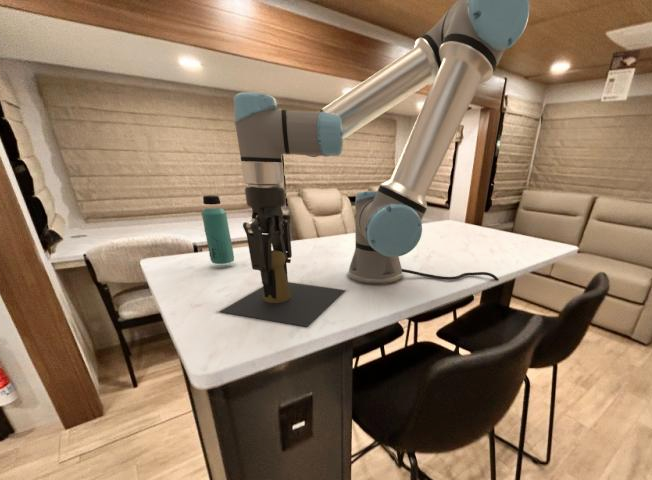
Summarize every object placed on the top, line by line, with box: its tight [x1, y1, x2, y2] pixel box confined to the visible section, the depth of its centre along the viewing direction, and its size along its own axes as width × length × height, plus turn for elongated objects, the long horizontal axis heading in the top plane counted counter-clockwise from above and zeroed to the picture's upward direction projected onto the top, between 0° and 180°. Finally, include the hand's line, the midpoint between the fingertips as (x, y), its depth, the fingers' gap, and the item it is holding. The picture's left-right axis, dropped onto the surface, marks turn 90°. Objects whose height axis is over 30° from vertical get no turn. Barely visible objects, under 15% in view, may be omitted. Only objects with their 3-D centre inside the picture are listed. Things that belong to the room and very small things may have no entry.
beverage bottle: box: [200, 194, 235, 265], centre depth 88 cm, size 6×7×20 cm
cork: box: [264, 249, 291, 303], centre depth 69 cm, size 6×6×11 cm
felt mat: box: [219, 281, 345, 328], centre depth 71 cm, size 20×20×1 cm
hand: (277, 293), depth 71 cm, fingers closed on cork, 4 cm apart
